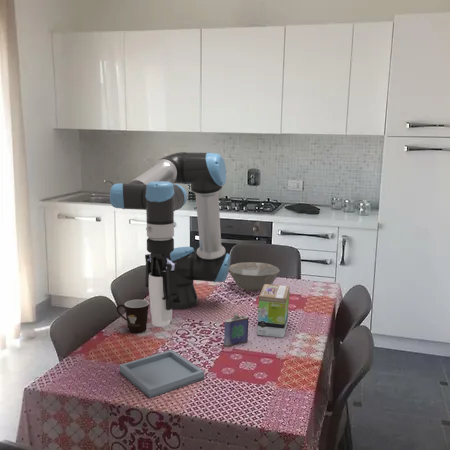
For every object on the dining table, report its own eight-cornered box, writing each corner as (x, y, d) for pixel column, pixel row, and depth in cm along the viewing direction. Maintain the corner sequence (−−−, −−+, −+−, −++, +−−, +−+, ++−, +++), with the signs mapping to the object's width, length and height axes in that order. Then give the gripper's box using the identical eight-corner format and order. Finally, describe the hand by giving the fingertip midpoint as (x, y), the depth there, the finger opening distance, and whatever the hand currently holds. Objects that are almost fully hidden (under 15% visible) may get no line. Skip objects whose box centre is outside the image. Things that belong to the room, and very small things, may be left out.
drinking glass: (162, 330, 140) (162, 278, 137) (144, 325, 143) (143, 274, 141) (177, 322, 146) (177, 272, 143) (159, 317, 149) (158, 269, 146)
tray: (119, 372, 149) (119, 364, 149) (171, 356, 160) (171, 349, 159) (149, 398, 135) (149, 389, 135) (204, 378, 146) (204, 371, 145)
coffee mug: (154, 330, 181) (154, 303, 179) (134, 336, 175) (134, 309, 173) (134, 321, 188) (134, 296, 187) (115, 327, 182) (114, 301, 180)
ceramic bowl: (280, 298, 217) (281, 275, 215) (227, 297, 218) (228, 274, 216) (276, 282, 239) (277, 262, 237) (228, 281, 239) (228, 261, 237)
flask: (226, 347, 167) (226, 317, 165) (221, 344, 170) (222, 314, 168) (249, 342, 172) (250, 312, 170) (244, 339, 174) (245, 309, 172)
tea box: (285, 338, 175) (286, 297, 173) (256, 335, 177) (257, 295, 175) (288, 322, 190) (289, 285, 187) (262, 320, 192) (263, 283, 189)
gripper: (132, 233, 145) (133, 309, 149) (166, 245, 130) (167, 329, 134) (154, 230, 149) (155, 304, 154) (190, 242, 134) (190, 323, 139)
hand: (161, 316), depth 144 cm, fingers closed on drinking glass, 6 cm apart
